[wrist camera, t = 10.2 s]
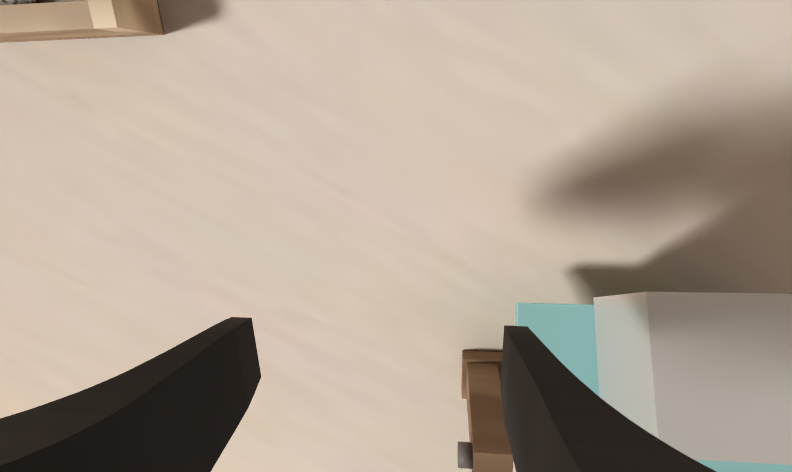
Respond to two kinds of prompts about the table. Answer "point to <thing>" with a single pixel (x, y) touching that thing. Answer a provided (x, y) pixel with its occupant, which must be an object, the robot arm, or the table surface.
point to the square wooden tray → (79, 20)
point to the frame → (484, 414)
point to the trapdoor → (594, 356)
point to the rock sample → (16, 2)
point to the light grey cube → (701, 370)
